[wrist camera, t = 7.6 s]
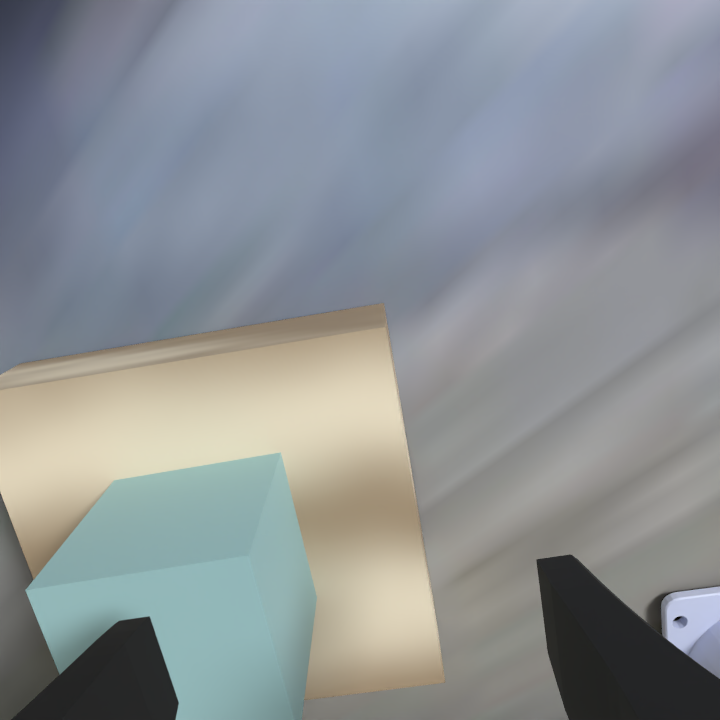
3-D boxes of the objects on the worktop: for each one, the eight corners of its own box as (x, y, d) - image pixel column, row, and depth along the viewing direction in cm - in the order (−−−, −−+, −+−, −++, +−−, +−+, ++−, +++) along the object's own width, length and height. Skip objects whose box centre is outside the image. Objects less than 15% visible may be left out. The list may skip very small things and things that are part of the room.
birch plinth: (436, 618, 23) (445, 682, 21) (122, 660, 24) (89, 727, 21) (383, 303, 20) (385, 326, 17) (20, 363, 21) (-37, 396, 18)
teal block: (316, 597, 20) (299, 736, 15) (161, 620, 20) (95, 764, 15) (281, 452, 18) (248, 555, 13) (114, 480, 19) (25, 590, 14)
